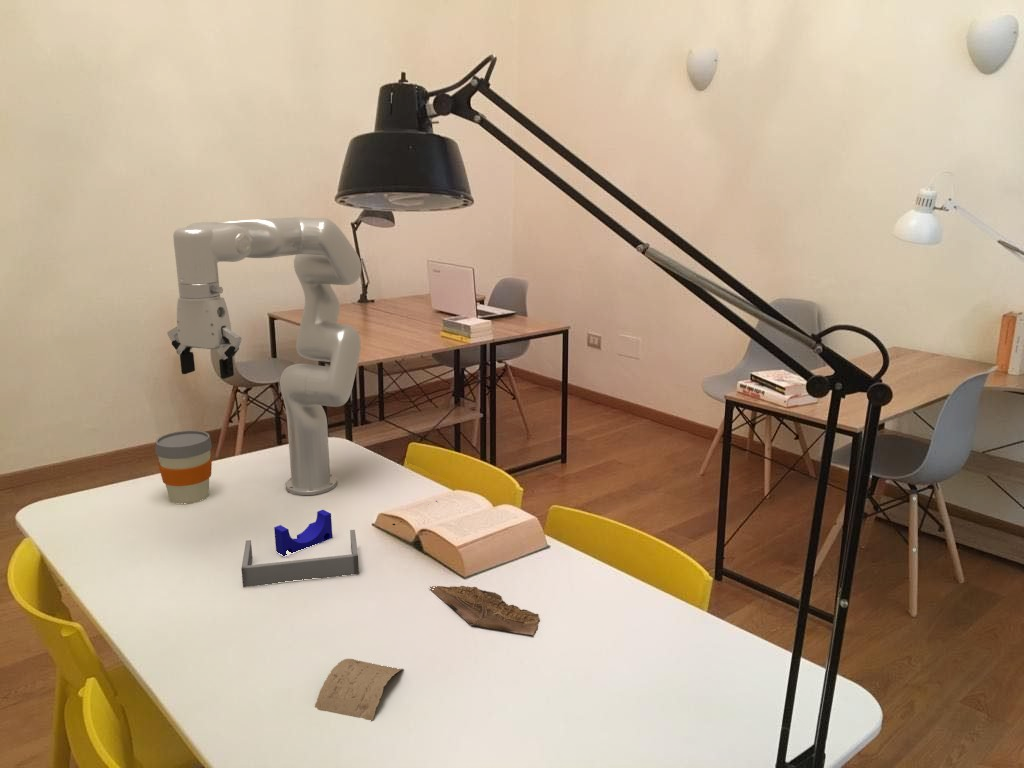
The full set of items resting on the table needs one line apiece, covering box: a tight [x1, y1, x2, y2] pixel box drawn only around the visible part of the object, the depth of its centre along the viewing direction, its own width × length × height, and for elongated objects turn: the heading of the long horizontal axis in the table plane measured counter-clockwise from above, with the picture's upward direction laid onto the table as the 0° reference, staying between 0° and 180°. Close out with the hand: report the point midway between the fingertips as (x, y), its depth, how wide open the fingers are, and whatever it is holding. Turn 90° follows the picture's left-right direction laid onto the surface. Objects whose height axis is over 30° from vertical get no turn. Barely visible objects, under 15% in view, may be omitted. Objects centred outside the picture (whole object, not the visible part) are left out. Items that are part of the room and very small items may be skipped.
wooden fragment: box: [429, 585, 540, 638], centre depth 145 cm, size 26×11×1 cm, turn 48°
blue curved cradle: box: [273, 509, 333, 557], centre depth 169 cm, size 12×4×6 cm, turn 137°
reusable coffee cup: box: [155, 430, 213, 505], centre depth 191 cm, size 12×13×15 cm
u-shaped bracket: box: [240, 529, 360, 588], centre depth 160 cm, size 12×22×4 cm, turn 104°
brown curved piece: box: [314, 658, 402, 721], centre depth 123 cm, size 14×10×3 cm
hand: (207, 374), depth 160 cm, fingers open, 9 cm apart
